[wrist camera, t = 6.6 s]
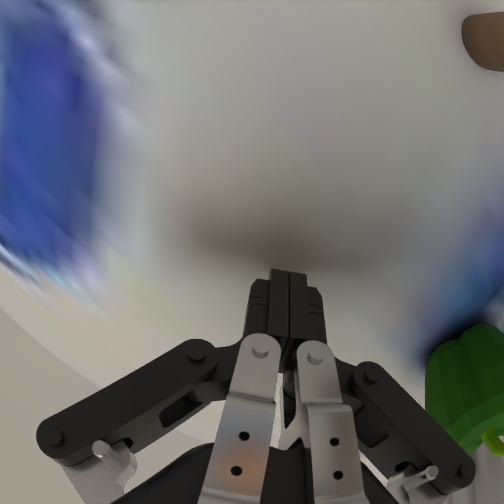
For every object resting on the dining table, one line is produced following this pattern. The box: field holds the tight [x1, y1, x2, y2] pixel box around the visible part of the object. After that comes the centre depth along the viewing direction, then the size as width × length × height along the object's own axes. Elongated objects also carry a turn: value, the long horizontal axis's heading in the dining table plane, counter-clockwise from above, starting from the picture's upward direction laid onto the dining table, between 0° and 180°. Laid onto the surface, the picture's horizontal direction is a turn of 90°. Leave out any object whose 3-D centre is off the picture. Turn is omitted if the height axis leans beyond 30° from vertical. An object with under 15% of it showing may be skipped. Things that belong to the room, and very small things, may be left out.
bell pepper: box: [425, 323, 504, 456], centre depth 13 cm, size 8×8×10 cm
